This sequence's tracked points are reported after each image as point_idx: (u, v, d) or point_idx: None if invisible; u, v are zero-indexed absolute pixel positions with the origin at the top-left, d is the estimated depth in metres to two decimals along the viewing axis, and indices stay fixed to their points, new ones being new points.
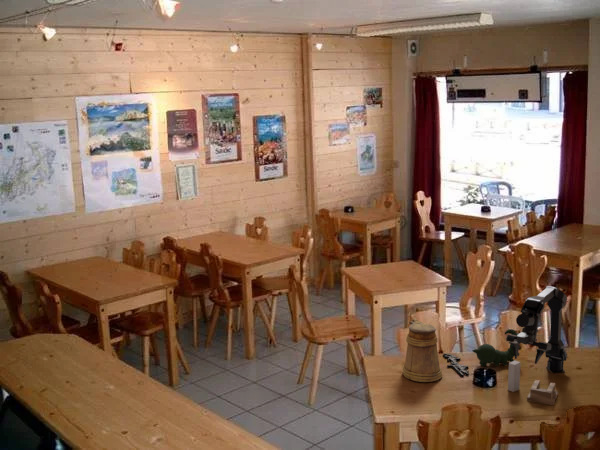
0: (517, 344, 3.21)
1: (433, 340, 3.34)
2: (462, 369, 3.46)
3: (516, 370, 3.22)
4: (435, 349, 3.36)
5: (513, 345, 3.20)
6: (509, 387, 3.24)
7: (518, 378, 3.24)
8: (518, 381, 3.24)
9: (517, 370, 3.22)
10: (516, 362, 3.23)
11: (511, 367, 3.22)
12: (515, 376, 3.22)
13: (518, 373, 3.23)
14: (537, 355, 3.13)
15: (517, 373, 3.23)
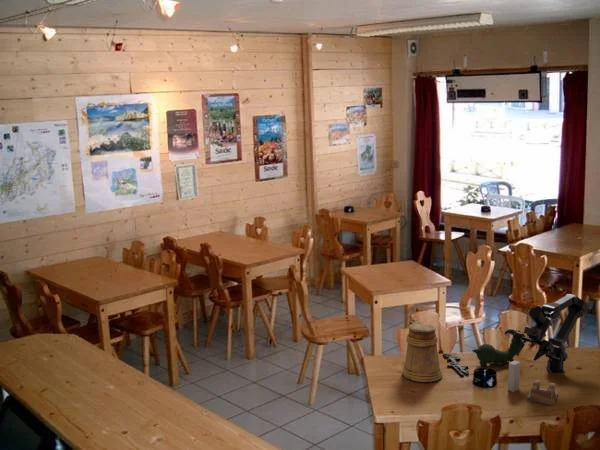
0: (522, 343, 3.34)
1: (433, 340, 3.34)
2: (462, 369, 3.46)
3: (516, 370, 3.22)
4: (435, 349, 3.36)
5: (518, 340, 3.32)
6: (509, 387, 3.24)
7: (518, 378, 3.24)
8: (518, 381, 3.24)
9: (517, 370, 3.22)
10: (516, 362, 3.23)
11: (511, 367, 3.22)
12: (515, 376, 3.22)
13: (518, 373, 3.23)
14: (538, 351, 3.24)
15: (517, 373, 3.23)
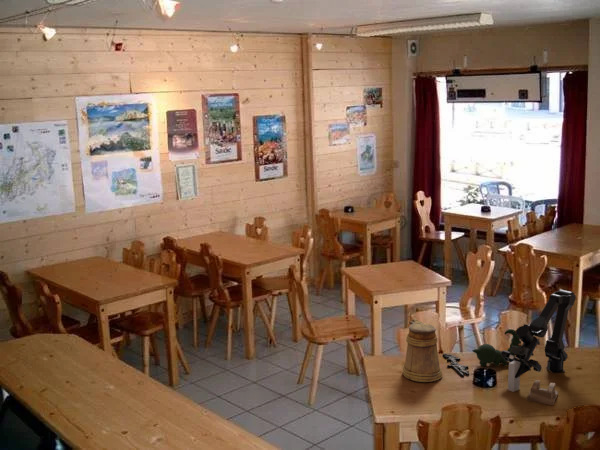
0: None
1: (433, 340, 3.34)
2: (462, 369, 3.46)
3: (516, 370, 3.22)
4: (435, 349, 3.36)
5: (511, 361, 3.26)
6: (509, 387, 3.24)
7: (518, 378, 3.24)
8: (518, 381, 3.24)
9: (517, 370, 3.22)
10: (516, 362, 3.23)
11: (511, 367, 3.22)
12: None
13: None
14: (519, 369, 3.22)
15: None
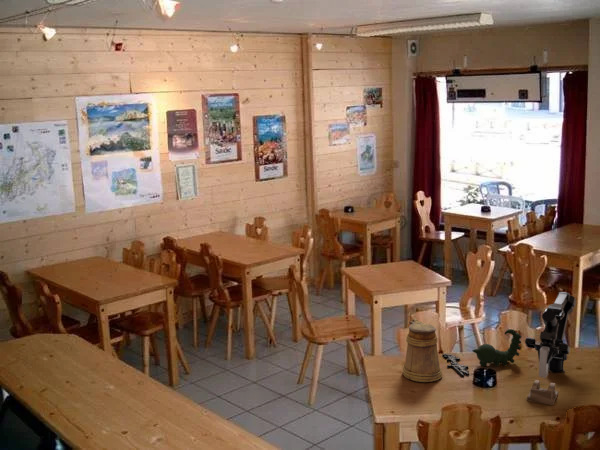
0: None
1: (433, 340, 3.34)
2: (462, 369, 3.46)
3: (547, 355, 3.20)
4: (435, 349, 3.36)
5: (539, 347, 3.23)
6: (540, 373, 3.22)
7: None
8: (547, 366, 3.23)
9: (547, 355, 3.21)
10: (546, 347, 3.21)
11: (543, 353, 3.19)
12: (546, 362, 3.20)
13: None
14: (550, 354, 3.21)
15: (547, 358, 3.21)
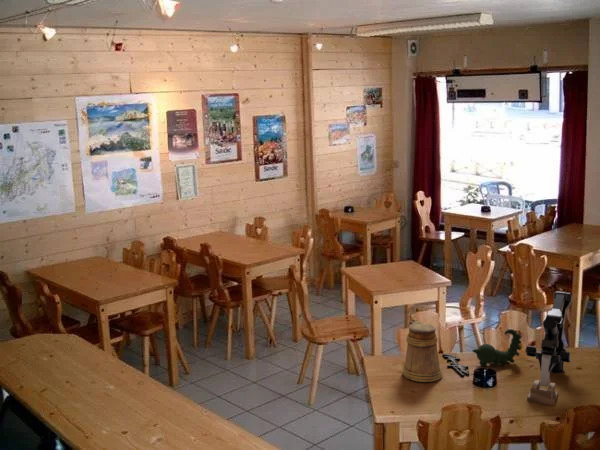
0: None
1: (433, 340, 3.34)
2: (462, 369, 3.46)
3: (549, 363, 3.16)
4: (435, 349, 3.36)
5: (540, 356, 3.19)
6: (542, 382, 3.17)
7: (549, 372, 3.19)
8: (549, 375, 3.19)
9: (549, 364, 3.17)
10: (547, 356, 3.17)
11: (545, 361, 3.15)
12: (548, 370, 3.16)
13: None
14: (551, 362, 3.17)
15: None
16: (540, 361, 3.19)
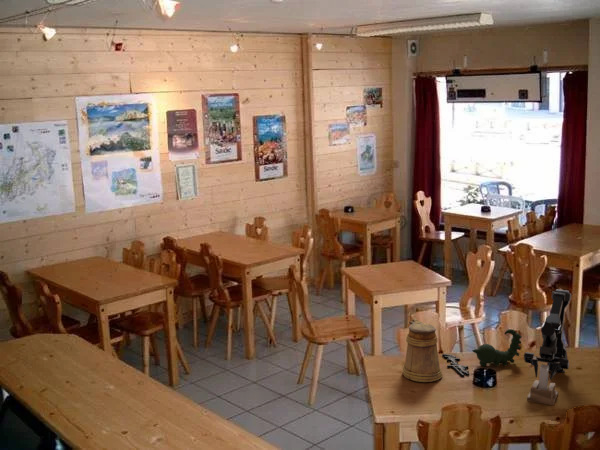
0: (537, 364, 3.19)
1: (433, 340, 3.34)
2: (462, 369, 3.46)
3: (547, 373, 3.13)
4: (435, 349, 3.36)
5: (535, 362, 3.17)
6: None
7: (547, 382, 3.16)
8: (547, 385, 3.16)
9: (547, 374, 3.14)
10: (545, 366, 3.14)
11: (543, 371, 3.12)
12: (546, 380, 3.13)
13: (547, 377, 3.15)
14: (553, 370, 3.13)
15: (547, 377, 3.14)
16: (535, 367, 3.16)
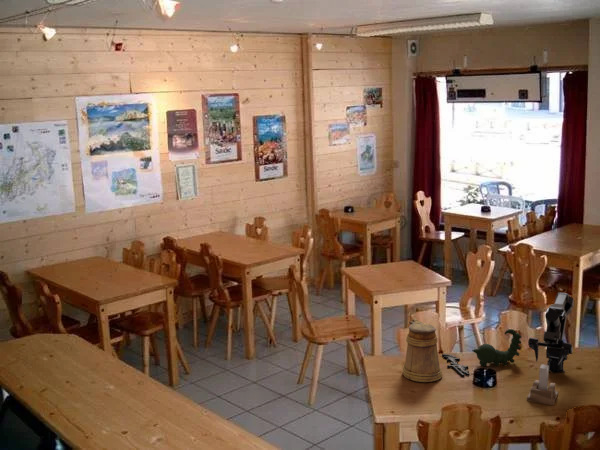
0: None
1: (433, 340, 3.34)
2: (462, 369, 3.46)
3: (547, 373, 3.13)
4: (435, 349, 3.36)
5: (535, 346, 3.25)
6: None
7: (547, 382, 3.16)
8: (547, 385, 3.16)
9: (547, 374, 3.14)
10: (545, 366, 3.14)
11: (543, 371, 3.12)
12: (546, 380, 3.13)
13: (547, 377, 3.15)
14: (561, 355, 3.19)
15: (547, 377, 3.14)
16: (536, 352, 3.24)
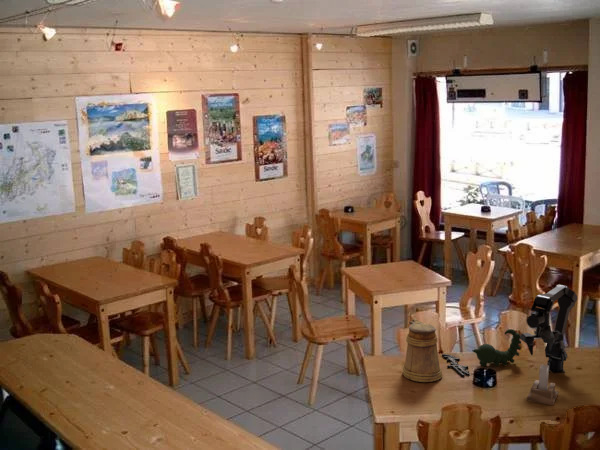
0: None
1: (433, 340, 3.34)
2: (462, 369, 3.46)
3: (547, 373, 3.13)
4: (435, 349, 3.36)
5: (532, 344, 3.28)
6: None
7: (547, 382, 3.16)
8: (547, 385, 3.16)
9: (547, 374, 3.14)
10: (545, 366, 3.14)
11: (543, 371, 3.12)
12: (546, 380, 3.13)
13: (547, 377, 3.15)
14: (553, 346, 3.30)
15: (547, 377, 3.14)
16: (531, 348, 3.29)
